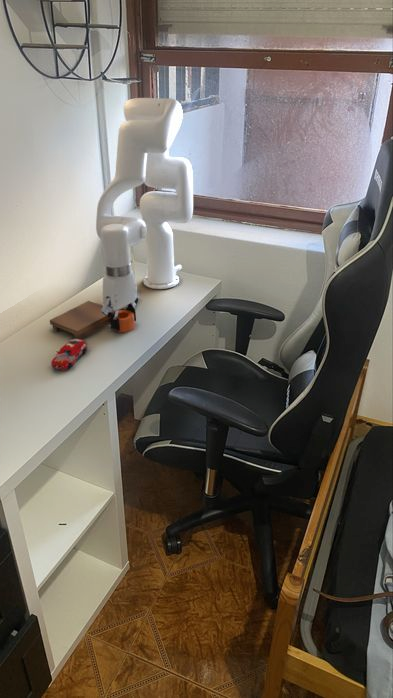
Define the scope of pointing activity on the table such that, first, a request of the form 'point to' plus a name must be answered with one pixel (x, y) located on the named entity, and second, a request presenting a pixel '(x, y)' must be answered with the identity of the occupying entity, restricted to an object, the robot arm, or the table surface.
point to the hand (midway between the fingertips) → (123, 324)
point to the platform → (81, 320)
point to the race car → (69, 354)
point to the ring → (126, 320)
